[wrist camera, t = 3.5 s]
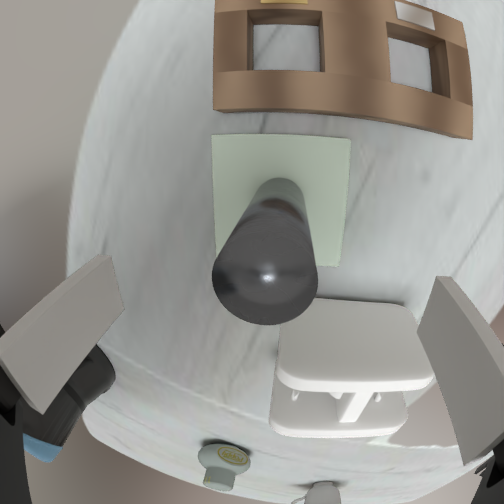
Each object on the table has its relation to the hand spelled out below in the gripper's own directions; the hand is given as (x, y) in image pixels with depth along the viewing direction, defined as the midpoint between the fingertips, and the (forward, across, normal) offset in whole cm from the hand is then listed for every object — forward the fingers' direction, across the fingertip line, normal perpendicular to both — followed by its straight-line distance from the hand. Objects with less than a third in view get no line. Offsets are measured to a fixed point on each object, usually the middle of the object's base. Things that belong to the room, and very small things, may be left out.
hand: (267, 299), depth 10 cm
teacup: (+16, +16, -75) cm, 78 cm away
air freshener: (+16, -8, -51) cm, 54 cm away
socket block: (+16, +6, +14) cm, 22 cm away
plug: (+15, 0, 0) cm, 15 cm away
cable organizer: (+16, +8, -15) cm, 23 cm away
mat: (+16, 0, 0) cm, 16 cm away
